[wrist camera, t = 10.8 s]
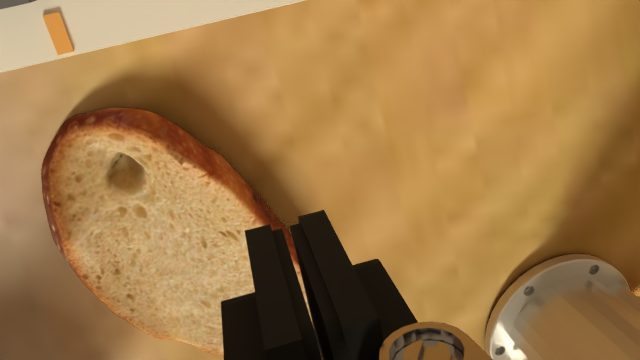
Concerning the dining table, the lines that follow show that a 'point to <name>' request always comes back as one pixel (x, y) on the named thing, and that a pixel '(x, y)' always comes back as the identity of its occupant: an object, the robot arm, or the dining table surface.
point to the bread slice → (153, 222)
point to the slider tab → (13, 3)
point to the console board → (104, 24)
